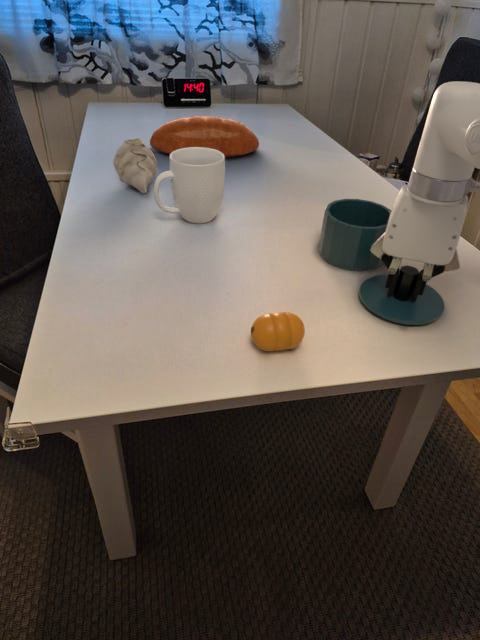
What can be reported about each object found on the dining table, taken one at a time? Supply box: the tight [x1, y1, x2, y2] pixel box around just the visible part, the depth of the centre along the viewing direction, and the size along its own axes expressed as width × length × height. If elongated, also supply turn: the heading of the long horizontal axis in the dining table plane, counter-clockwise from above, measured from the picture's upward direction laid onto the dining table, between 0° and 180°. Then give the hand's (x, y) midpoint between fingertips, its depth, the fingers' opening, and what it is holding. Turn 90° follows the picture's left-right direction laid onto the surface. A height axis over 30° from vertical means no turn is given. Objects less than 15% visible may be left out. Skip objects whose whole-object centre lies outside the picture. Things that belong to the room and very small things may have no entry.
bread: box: [149, 115, 260, 158], centre depth 128 cm, size 23×32×9 cm
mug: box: [152, 147, 226, 224], centre depth 91 cm, size 15×11×13 cm
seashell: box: [112, 138, 158, 195], centre depth 105 cm, size 10×15×10 cm
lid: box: [358, 265, 445, 326], centre depth 71 cm, size 13×13×6 cm
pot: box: [318, 198, 392, 272], centre depth 83 cm, size 12×12×8 cm
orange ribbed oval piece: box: [250, 311, 306, 352], centre depth 62 cm, size 8×5×5 cm
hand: (402, 293), depth 72 cm, fingers open, 3 cm apart
